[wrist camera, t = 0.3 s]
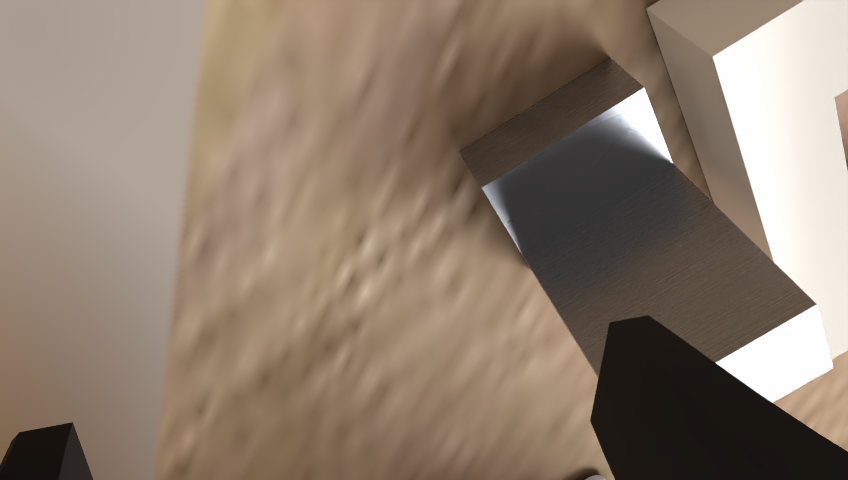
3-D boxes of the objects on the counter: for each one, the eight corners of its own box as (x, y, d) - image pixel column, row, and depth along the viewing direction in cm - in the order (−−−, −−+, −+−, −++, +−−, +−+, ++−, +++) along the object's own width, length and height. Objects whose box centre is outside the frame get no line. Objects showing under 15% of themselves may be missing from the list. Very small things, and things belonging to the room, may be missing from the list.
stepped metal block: (663, 189, 24) (833, 367, 18) (530, 269, 24) (655, 469, 18) (610, 57, 20) (795, 220, 15) (458, 151, 21) (581, 347, 15)
